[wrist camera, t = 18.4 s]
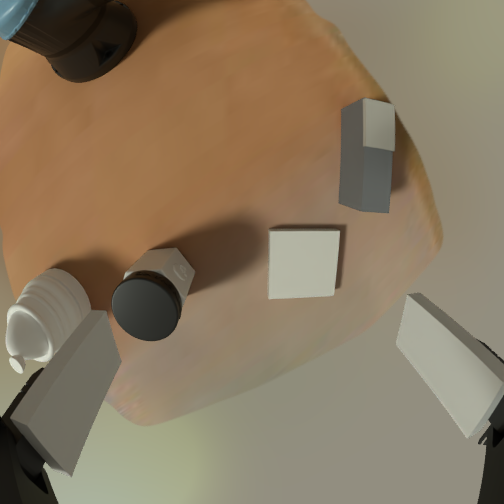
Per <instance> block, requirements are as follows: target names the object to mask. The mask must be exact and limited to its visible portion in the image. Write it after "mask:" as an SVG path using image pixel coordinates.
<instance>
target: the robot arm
mask: <svg viewBox="0 0 504 504" xmlns="http://www.w3.org/2000/svg"><path fill="white" fill-rule="evenodd" d="M136 32H137V21H136V18H135V16H134V14H133V13H132V11H131V10H130V9H129V8H128V7H127V6H126V5H125V4H123V3H121V2H118V1H114V0H0V37H1V38H2V39H4V40H9V41H12V42H14V43H16V44H19V45H21V46H23V47H26V48H28V49H30V50H32V51H34V52H36V53H39V54H41V55H43V56H45V57H46V59H47V60H48V62H49V63H50V64H51V66H52V68H53V70H54V71H55V73H56V74H57V75H58V76H60V77H61V78H63V79H66V80H68V81H70V82H75V83H82V82H87V81H91V80H93V79H96V78H98V77H100V76H102V75H103V74H105V73H107V72H108V71H109V70H111V69H112V68H113V67H114V66H115V65H117V64H118V63H119V62H120V61H121V59H122V58H123V57H124V56H125V55H126V53H127V52H128V50H129V49H130V47H131V45H132V44H133V41H134V39H135V36H136ZM396 346H397V347H398V348H399V349H400V351H401V352H402V353H403V354H404V356H405V357H406V358H407V359H408V361H409V362H410V363H411V364H412V366H413V367H414V368H415V369H416V371H417V372H418V373H419V374H420V376H421V377H422V378H423V380H424V381H425V382H426V383H427V385H428V386H429V387H430V389H431V390H432V391H433V393H434V394H435V395H436V397H437V398H438V399H439V401H440V402H441V403H442V405H443V406H444V407H445V409H446V410H447V411H448V413H449V414H450V416H451V417H452V418H453V420H454V421H455V422H456V424H457V425H458V427H459V428H460V430H461V431H462V432H463V434H464V435H465V436H466V438H467V439H468V438H469V437H471V436H472V435H474V434H476V433H478V432H479V431H480V430H481V429H482V428H483V426H484V425H485V423H486V422H487V421H488V420H489V421H490V423H491V425H490V426H489V428H488V429H487V430H486V432H485V433H484V434H483V436H482V437H481V438H480V440H479V442H478V444H481V443H482V441H483V440H484V439H485V437H487V440H486V441H485V442H484V444H483V445H486V455H485V464H484V471H483V478H482V484H481V489H480V494H479V499H478V503H477V504H504V361H503V360H502V359H501V358H500V357H498V356H497V354H496V353H495V352H494V351H492V350H491V349H490V348H489V347H488V346H487V345H486V344H485V343H483V342H481V341H479V340H478V339H475V338H474V337H473V336H472V335H471V334H470V333H469V332H467V331H466V330H465V329H464V328H463V327H462V326H460V325H459V324H458V323H457V322H456V321H454V320H453V319H452V318H451V317H449V316H448V315H447V314H446V313H445V312H443V311H442V310H441V309H439V307H437V306H436V305H435V304H433V303H432V302H431V301H430V300H429V299H427V298H426V297H425V296H423V295H422V294H421V293H414V294H407V298H406V303H405V308H404V312H403V317H402V321H401V325H400V329H399V333H398V337H397V341H396ZM121 362H122V361H121V358H120V355H119V352H118V349H117V346H116V343H115V340H114V336H113V333H112V330H111V326H110V323H109V319H108V315H107V311H104V310H91V311H90V313H89V314H88V315H87V316H86V317H85V318H84V320H83V321H82V322H81V323H80V324H79V325H78V327H77V328H76V329H75V330H74V332H73V333H72V334H71V335H70V336H69V338H68V339H67V340H66V341H65V343H64V344H63V345H62V346H61V348H60V349H59V350H58V351H57V353H56V354H55V355H54V356H53V358H52V359H51V360H50V362H49V363H48V364H47V366H46V367H45V368H41V369H39V370H38V371H37V372H35V373H34V374H33V375H32V376H31V377H30V378H29V380H28V381H27V382H26V386H25V385H24V387H23V388H22V389H21V392H20V393H18V395H17V396H16V398H15V399H14V400H13V402H12V403H11V405H10V406H9V408H8V409H7V410H6V412H5V413H4V415H3V416H2V418H1V417H0V504H58V501H57V499H56V497H55V494H54V491H53V489H52V486H51V483H50V481H49V478H48V475H47V473H46V471H45V469H44V468H43V465H44V463H45V462H46V463H47V464H48V465H49V466H50V467H51V468H52V469H53V470H54V471H56V472H59V473H61V474H64V475H67V476H70V477H72V475H73V472H74V469H75V466H76V464H77V461H78V459H79V456H80V454H81V451H82V449H83V446H84V444H85V441H86V439H87V437H88V434H89V431H90V429H91V427H92V425H93V422H94V420H95V418H96V416H97V413H98V411H99V409H100V406H101V404H102V402H103V400H104V398H105V396H106V393H107V391H108V389H109V387H110V385H111V383H112V381H113V379H114V376H115V374H116V372H117V370H118V368H119V366H120V364H121Z"/></svg>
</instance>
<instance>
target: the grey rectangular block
mask: <svg viewBox="0 0 504 504" xmlns="http://www.w3.org/2000/svg"><path fill="white" fill-rule="evenodd" d="M393 151H395V108H394V105H393V104H390V103H386V102H382V101H378V100H374V99H369V98H362V99H360V100H358V101H356V102H354V103H352V104H350V105H348V106H346V107H344V108H343V109H341V165H340V187H339V204H342V205H345V206H348V207H351V208H353V209H356V210H359V211H363V212H378V213H389V206H390V194H391V178H392V152H393Z"/></svg>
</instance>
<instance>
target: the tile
mask: <svg viewBox="0 0 504 504" xmlns="http://www.w3.org/2000/svg"><path fill="white" fill-rule="evenodd" d="M339 238H340V231H339V230H337V229H320V228H310V229H268V292H267V294H268V298H269V299H282V298H304V297H322V296H334V290H335V281H336V272H337V262H338V250H339Z"/></svg>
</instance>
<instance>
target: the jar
mask: <svg viewBox="0 0 504 504" xmlns="http://www.w3.org/2000/svg"><path fill="white" fill-rule="evenodd" d="M194 275H195V270H194V269H193V268H192V267H191V265H190V264H189V263H188V262H187V260H186V259H185V258H184V256H183V255H182V254H181V253H180V251H179V250H178V249H177V248H166V249H156V250H148V251H146V252H145V253H144V254H143V255H142V256H141V257H140V258H139V259H138V260H137V261H136V262H135V263H134V264H133V265H132V266H131V267H130V268H129V269H128V270H127V271H126V273H125V276H124V279H123V281H122V282H121V283H120V284H119V285H118V286H117V287H116V289H115V291H114V293H113V296H112V302H111V305H112V311H113V314H114V317H115V319H116V321H117V322H118V324H119V325H120V326H121V327H122V328H123V330H125V331H126V332H127V333H128V334H130V335H131V336H133V337H135V338H138V339H140V340H145V341H158V340H161V339H164V338H166V337H168V336H169V335H170V334H171V333H172V332H173V331H174V330H175V328H176V326H177V323H178V320H179V319H180V317H181V311H182V307H183V305H184V302H185V300H186V297H187V294H188V291H189V289H190V286H191V283H192V280H193V277H194Z"/></svg>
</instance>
